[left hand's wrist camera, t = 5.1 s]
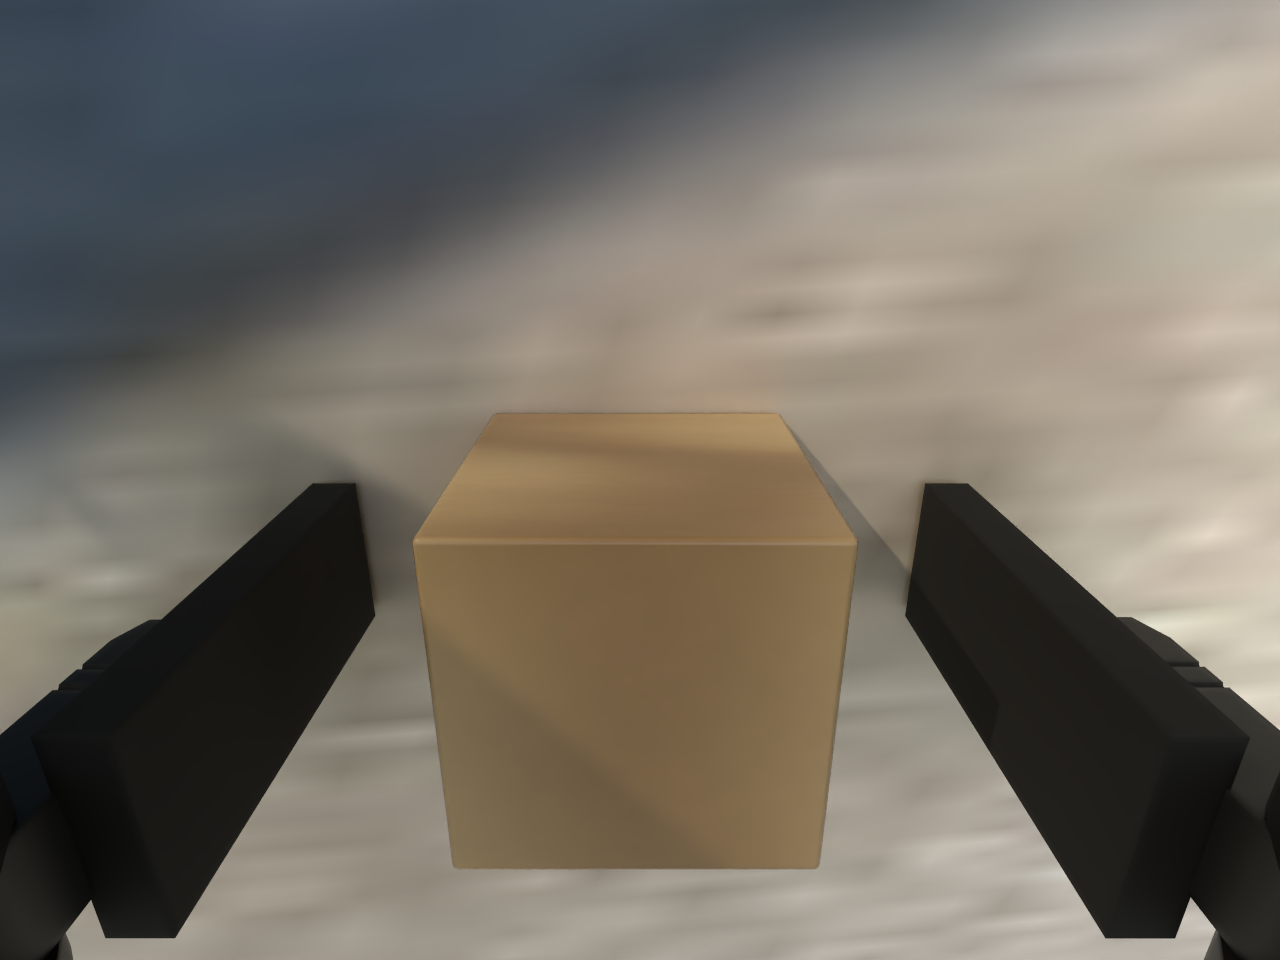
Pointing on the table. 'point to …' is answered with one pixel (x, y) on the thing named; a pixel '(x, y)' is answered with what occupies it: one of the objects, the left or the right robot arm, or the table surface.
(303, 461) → the table surface
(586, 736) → the block
